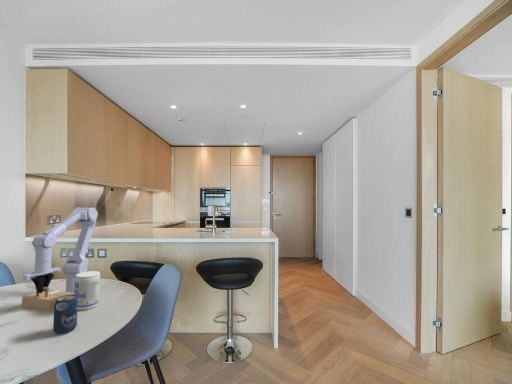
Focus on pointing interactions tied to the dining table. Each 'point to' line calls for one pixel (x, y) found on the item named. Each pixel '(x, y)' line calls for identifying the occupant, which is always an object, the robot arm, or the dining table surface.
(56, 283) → the dining table surface
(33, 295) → the far flap
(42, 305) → the carton
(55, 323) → the soda can
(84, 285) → the supplement tub
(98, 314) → the dining table surface
